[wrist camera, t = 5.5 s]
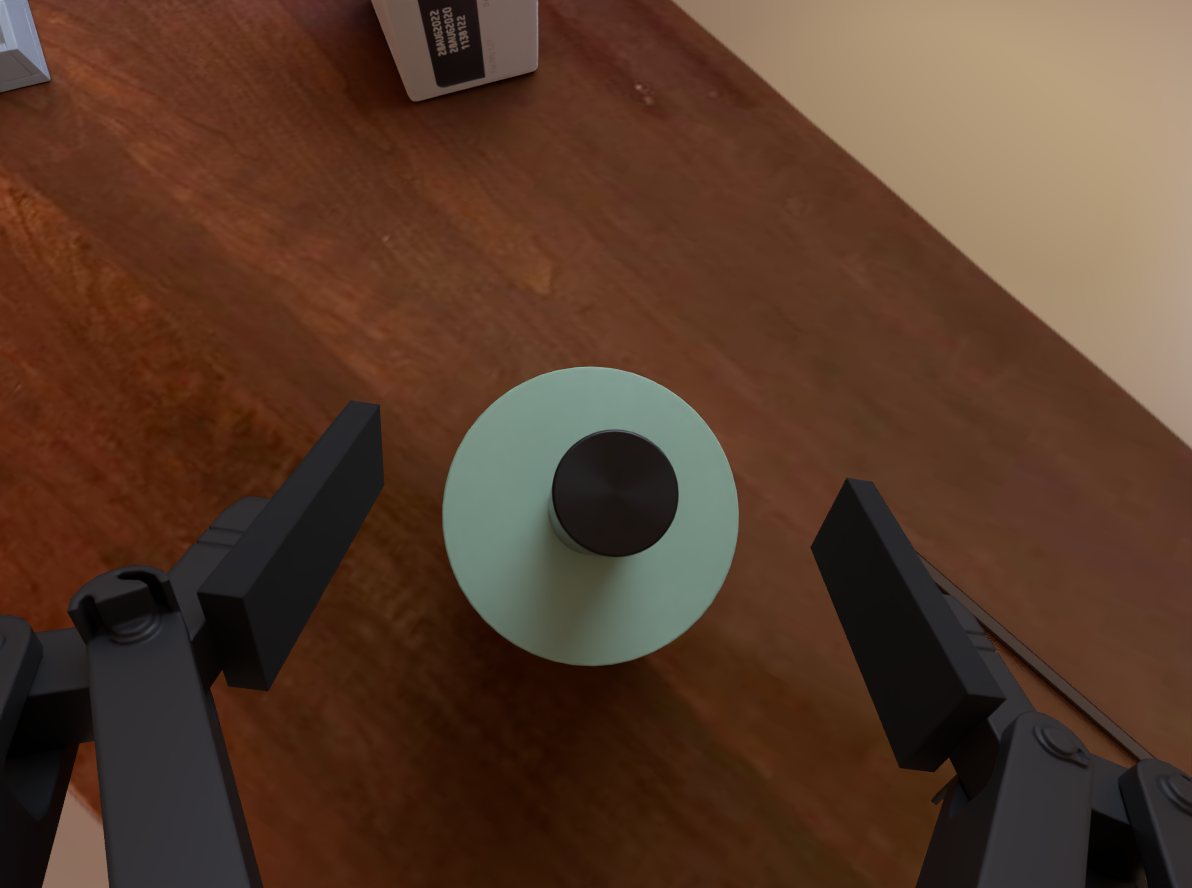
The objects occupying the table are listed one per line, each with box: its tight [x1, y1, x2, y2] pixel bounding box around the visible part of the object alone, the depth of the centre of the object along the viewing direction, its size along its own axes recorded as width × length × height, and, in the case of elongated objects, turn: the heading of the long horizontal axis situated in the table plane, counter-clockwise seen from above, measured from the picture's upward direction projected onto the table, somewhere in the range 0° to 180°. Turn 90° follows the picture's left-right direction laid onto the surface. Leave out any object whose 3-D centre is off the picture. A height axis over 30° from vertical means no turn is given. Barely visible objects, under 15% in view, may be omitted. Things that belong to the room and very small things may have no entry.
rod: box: [916, 552, 1156, 762], centre depth 29 cm, size 1×19×1 cm, turn 49°
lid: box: [442, 367, 739, 666], centre depth 16 cm, size 10×10×7 cm
